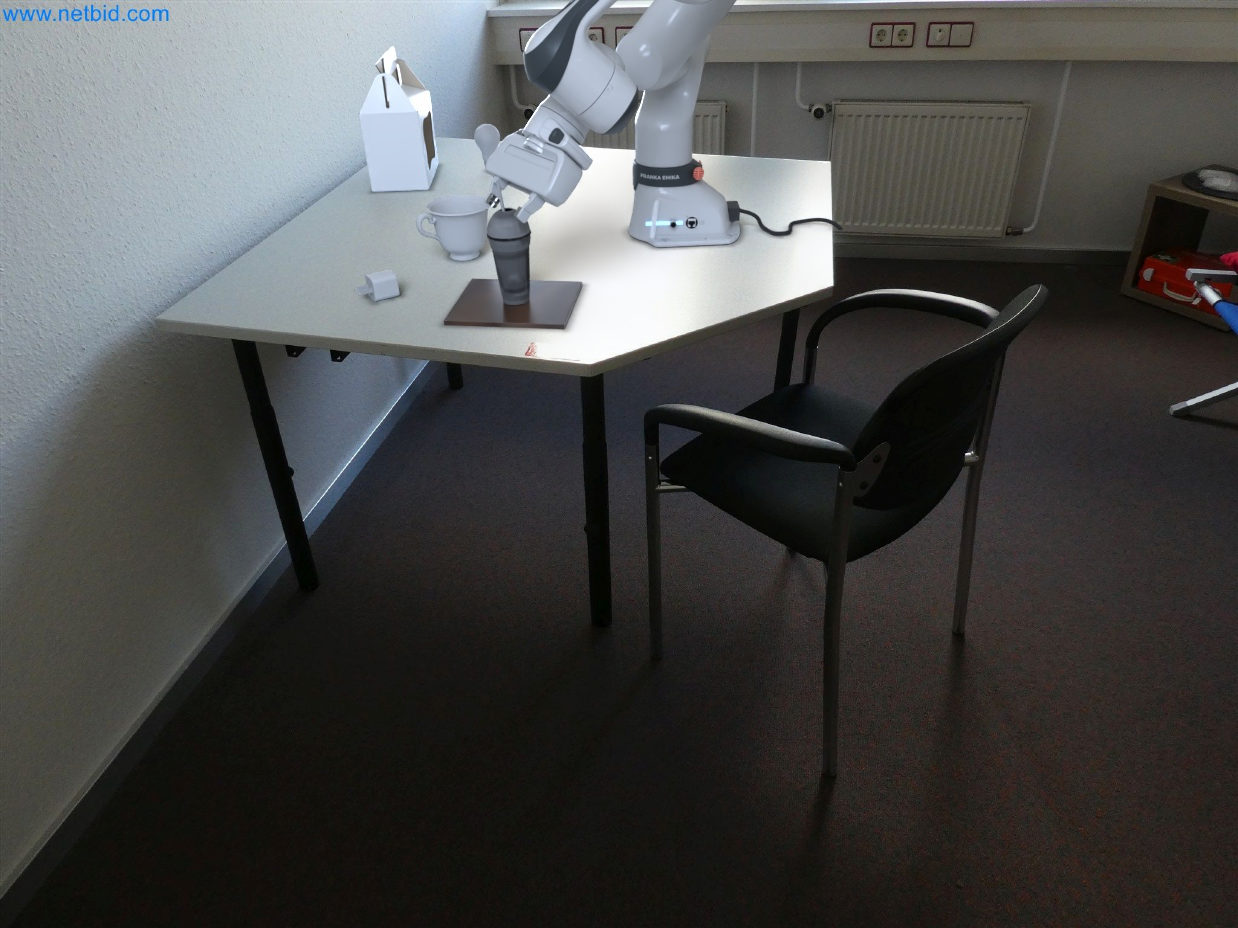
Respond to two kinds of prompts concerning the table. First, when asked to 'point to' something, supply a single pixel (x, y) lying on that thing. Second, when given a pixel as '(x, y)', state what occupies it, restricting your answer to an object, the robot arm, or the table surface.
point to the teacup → (457, 224)
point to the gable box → (398, 129)
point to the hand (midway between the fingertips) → (503, 212)
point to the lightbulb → (487, 140)
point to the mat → (541, 311)
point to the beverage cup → (510, 253)
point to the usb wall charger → (380, 285)
